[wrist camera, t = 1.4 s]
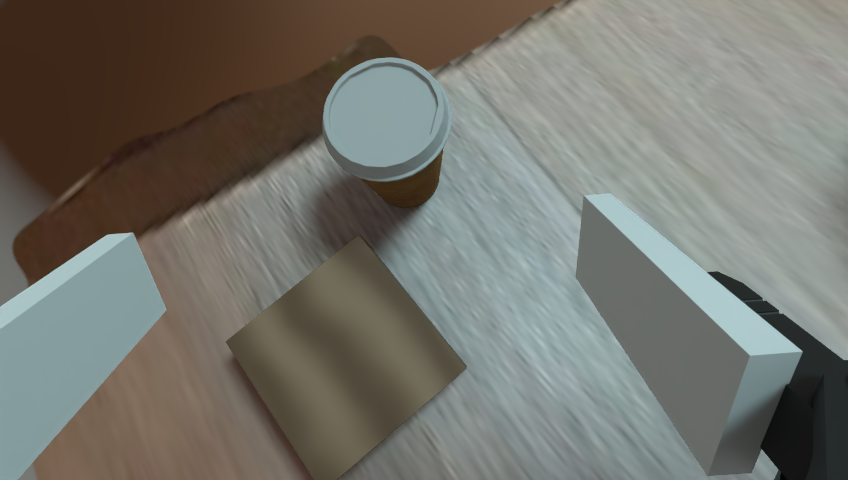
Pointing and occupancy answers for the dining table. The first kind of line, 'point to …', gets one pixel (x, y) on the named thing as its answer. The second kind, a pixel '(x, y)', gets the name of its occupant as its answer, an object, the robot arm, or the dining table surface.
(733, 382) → the robot arm
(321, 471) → the walnut base
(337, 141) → the disposable coffee cup
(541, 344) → the dining table surface
